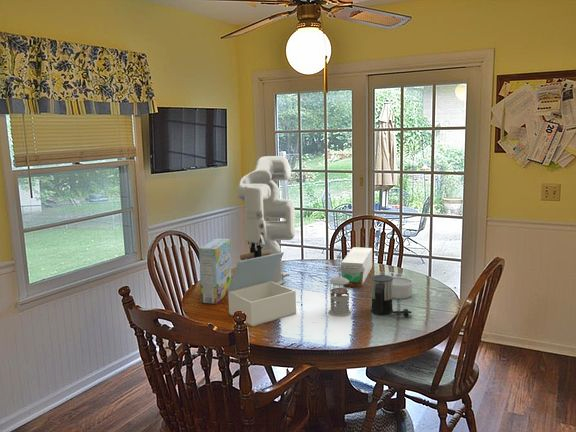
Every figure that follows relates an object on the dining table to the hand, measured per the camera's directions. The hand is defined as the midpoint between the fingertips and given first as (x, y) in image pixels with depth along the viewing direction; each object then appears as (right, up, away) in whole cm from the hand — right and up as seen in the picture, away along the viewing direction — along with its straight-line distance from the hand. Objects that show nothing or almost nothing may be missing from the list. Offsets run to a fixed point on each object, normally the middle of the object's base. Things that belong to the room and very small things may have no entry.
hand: (255, 258), depth 214 cm
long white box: (+50, -13, +55) cm, 75 cm away
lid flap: (0, -6, +1) cm, 6 cm away
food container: (+44, -17, +34) cm, 58 cm away
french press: (+35, -23, +2) cm, 42 cm away
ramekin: (+64, -19, +20) cm, 70 cm away
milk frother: (+56, -23, -2) cm, 61 cm away
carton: (+3, -24, +2) cm, 24 cm away
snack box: (-20, -20, +26) cm, 38 cm away
